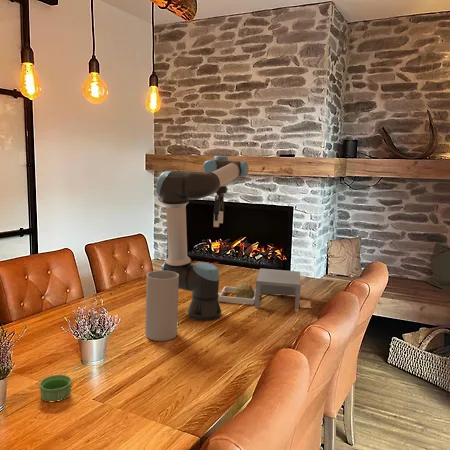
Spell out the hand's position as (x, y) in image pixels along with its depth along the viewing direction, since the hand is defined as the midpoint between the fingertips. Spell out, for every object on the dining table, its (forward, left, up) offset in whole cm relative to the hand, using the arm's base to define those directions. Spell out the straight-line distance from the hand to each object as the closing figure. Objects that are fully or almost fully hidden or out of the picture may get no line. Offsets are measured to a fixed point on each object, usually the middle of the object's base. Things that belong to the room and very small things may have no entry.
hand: (218, 224), depth 243 cm
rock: (+7, -22, -35) cm, 42 cm away
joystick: (-1, -18, -34) cm, 39 cm away
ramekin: (-84, -92, -35) cm, 129 cm away
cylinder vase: (-44, -57, -35) cm, 80 cm away
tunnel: (+25, -33, -35) cm, 54 cm away
